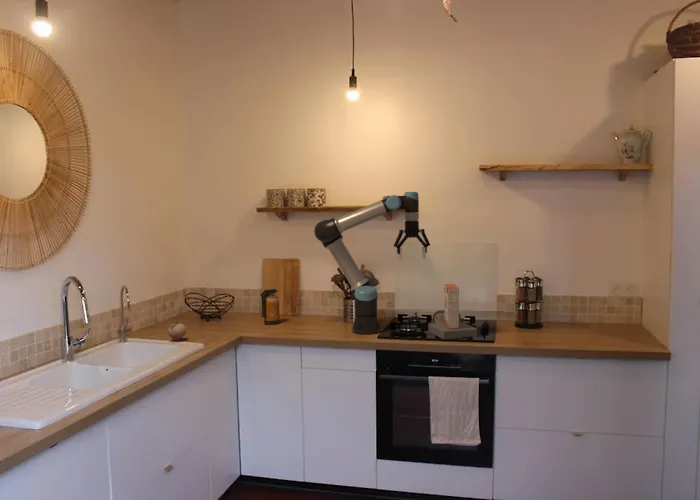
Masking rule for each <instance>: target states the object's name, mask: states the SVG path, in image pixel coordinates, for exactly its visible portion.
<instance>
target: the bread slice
mask: <svg viewBox="0 0 700 500" xmlns="http://www.w3.org/2000/svg"><path fill="white" fill-rule="evenodd" d="M461 318H462V317H461V314H460V313H459V321H460V322H461V320H462V319H461ZM432 319H433V322H434V323H444V322H445V309H444V310H443V309H439V310H437V311H435V312H434V313H433V315H432Z"/></svg>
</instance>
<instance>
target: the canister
mask: <svg viewBox="0 0 700 500" xmlns="http://www.w3.org/2000/svg"><path fill="white" fill-rule="evenodd" d="M278 291H279V290H277V289H276V288H271V289H264V291H262V292H261V293H260V297H261V318H263V323H264V324H265V325H268V324H274V325H277V323H278V324H279V323H281V318H280V317H281V316H280V311H281V309H280V300H279V296H278V295H277V293H278Z"/></svg>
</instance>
